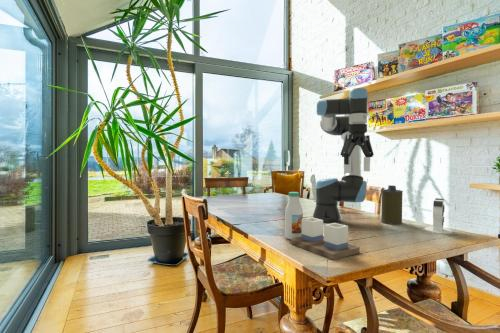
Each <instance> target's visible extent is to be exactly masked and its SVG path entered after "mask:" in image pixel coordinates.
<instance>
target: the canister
mask: <svg viewBox="0 0 500 333" xmlns="http://www.w3.org/2000/svg"><path fill="white" fill-rule="evenodd" d="M387 186H388V187H387V189H381V191H380V192H381V207H380V208H381V210H380V211H381V212H380V213H381V214H380V215H381V219H380V223H382V224H386V225H392V226H398V225H403V192H404V191H403V190H400V189H397V187H396V185H387Z"/></svg>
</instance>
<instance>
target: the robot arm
mask: <svg viewBox="0 0 500 333" xmlns="http://www.w3.org/2000/svg"><path fill="white" fill-rule="evenodd" d="M348 95H349V96H348V98H337V99H336V98H335V99H334V98H332V99H325V98H324V99H320V100H316V115H317V116H321V119H320V122H319V124H320V126H319V127H320V128H321V130H322V131H323V132H325V133H326V134H328V135H330V136H340V139H341V140H343V145H342V149H341V151H340V156H341V157H342V158H343V176H341V180H338V178H337V177H331V178H330V177H329V178H321V179H318V180H317V181H316V185H315V192H316V193H315V209H314V211H313V214H312V218H317V219H321V220H323V223H338V222H340V221H341V219H342V218H341V215H340V211H339V207H338V202H340V203H363V202H364V201H365V199H366V195H367V194H366V193H367V188H368V187H367V186H368V184H367V181H366V180H364V177H363V176H362V175H361V161H360V160H361V158H360V149H361V151H362V153H363V155H364V156H363V172H371V158H373V157H374V155H375V154H374V150H373V147H372V144H371V139H370V135H365V134H366V133H367V131H368V125H367V123H368V89H367V88H365V87H359V88H358V87H356V88H352V89H350V91H349V94H348ZM337 115H338V116H337ZM339 115H341V116H339ZM347 115H348V116H347Z"/></svg>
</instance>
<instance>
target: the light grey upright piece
mask: <svg viewBox="0 0 500 333" xmlns="http://www.w3.org/2000/svg"><path fill="white" fill-rule="evenodd" d="M444 200H445V199H444V198H438V197H435V199H434V200H433V204H432V205H433V208H432V219H433V220H432V222H433V223H432V226H426V227H424V229H423V230H424V231H426V232H429V233H434V234H441V235H442V234H444V235H447V234H448V235H449V234H452V233H453V230H451V229H448V228H444V223H445V216H444V214H445V204H444V203H445V202H444Z"/></svg>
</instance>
